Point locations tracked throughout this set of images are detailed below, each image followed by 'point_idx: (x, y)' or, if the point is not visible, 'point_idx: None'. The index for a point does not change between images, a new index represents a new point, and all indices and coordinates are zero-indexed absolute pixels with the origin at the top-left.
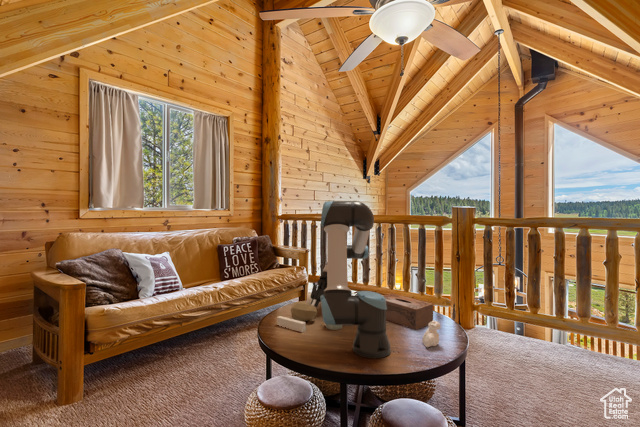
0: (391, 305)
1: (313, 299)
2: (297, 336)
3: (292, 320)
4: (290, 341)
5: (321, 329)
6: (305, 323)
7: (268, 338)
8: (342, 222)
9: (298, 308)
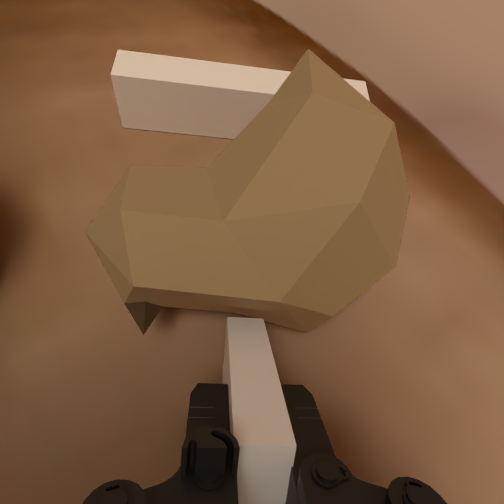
0: None
1: (316, 464)
2: None
3: (226, 72)
4: (128, 14)
5: (15, 187)
6: (112, 80)
7: (246, 11)
8: None
9: (269, 106)
